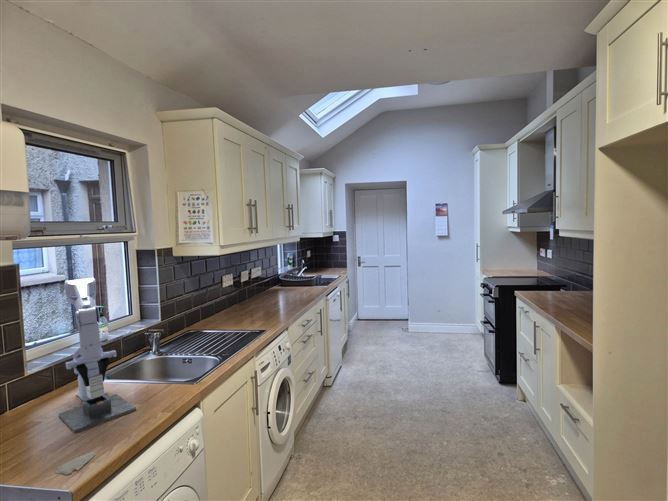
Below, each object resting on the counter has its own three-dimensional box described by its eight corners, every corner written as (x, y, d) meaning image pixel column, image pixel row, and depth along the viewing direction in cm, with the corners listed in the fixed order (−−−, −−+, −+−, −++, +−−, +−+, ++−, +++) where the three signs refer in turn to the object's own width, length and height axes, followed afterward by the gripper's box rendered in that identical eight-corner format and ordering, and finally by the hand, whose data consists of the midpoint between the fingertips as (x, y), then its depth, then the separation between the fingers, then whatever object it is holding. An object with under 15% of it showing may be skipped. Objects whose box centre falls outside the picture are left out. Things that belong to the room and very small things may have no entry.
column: (86, 396, 132) (84, 375, 132) (100, 391, 135) (98, 371, 135) (91, 399, 130) (88, 377, 129) (104, 395, 133) (102, 373, 132)
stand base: (58, 416, 132) (57, 402, 132) (116, 396, 146) (115, 383, 145) (74, 433, 120) (73, 417, 120) (136, 410, 134) (134, 396, 133)
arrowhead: (50, 466, 101) (84, 448, 110) (50, 474, 101) (84, 455, 110) (71, 470, 99) (104, 451, 109) (71, 477, 99) (104, 458, 109)
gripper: (68, 351, 123) (72, 394, 124) (118, 340, 134) (122, 378, 135) (62, 348, 128) (66, 388, 129) (110, 336, 139) (114, 374, 140)
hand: (94, 383), depth 132 cm, fingers closed on column, 4 cm apart
